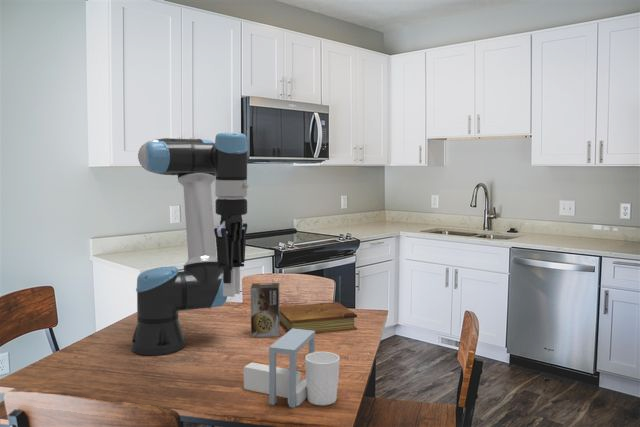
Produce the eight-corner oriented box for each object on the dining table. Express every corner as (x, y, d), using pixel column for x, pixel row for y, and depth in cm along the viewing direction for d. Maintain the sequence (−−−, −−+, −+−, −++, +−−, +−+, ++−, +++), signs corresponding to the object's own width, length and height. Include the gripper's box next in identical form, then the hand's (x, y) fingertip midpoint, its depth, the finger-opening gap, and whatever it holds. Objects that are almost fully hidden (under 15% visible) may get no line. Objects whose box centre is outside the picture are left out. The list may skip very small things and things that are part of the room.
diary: (336, 317, 196) (336, 301, 195) (356, 331, 178) (357, 314, 177) (275, 321, 188) (275, 305, 187) (290, 337, 170) (290, 319, 170)
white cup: (308, 408, 119) (309, 364, 118) (301, 394, 126) (302, 352, 126) (343, 405, 121) (343, 362, 120) (334, 391, 128) (334, 350, 128)
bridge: (269, 404, 121) (269, 347, 120) (292, 379, 135) (292, 328, 134) (294, 407, 119) (294, 350, 118) (314, 382, 133) (315, 330, 132)
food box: (280, 331, 176) (280, 282, 174) (279, 337, 169) (279, 287, 168) (252, 331, 175) (252, 282, 174) (250, 337, 169) (250, 286, 167)
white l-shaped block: (237, 393, 127) (237, 370, 126) (257, 380, 135) (257, 358, 134) (297, 406, 120) (297, 382, 120) (314, 391, 128) (314, 369, 128)
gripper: (231, 200, 120) (231, 303, 121) (258, 197, 134) (258, 289, 136) (201, 199, 122) (201, 300, 124) (231, 196, 136) (231, 287, 138)
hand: (231, 294), depth 130 cm, fingers open, 2 cm apart
